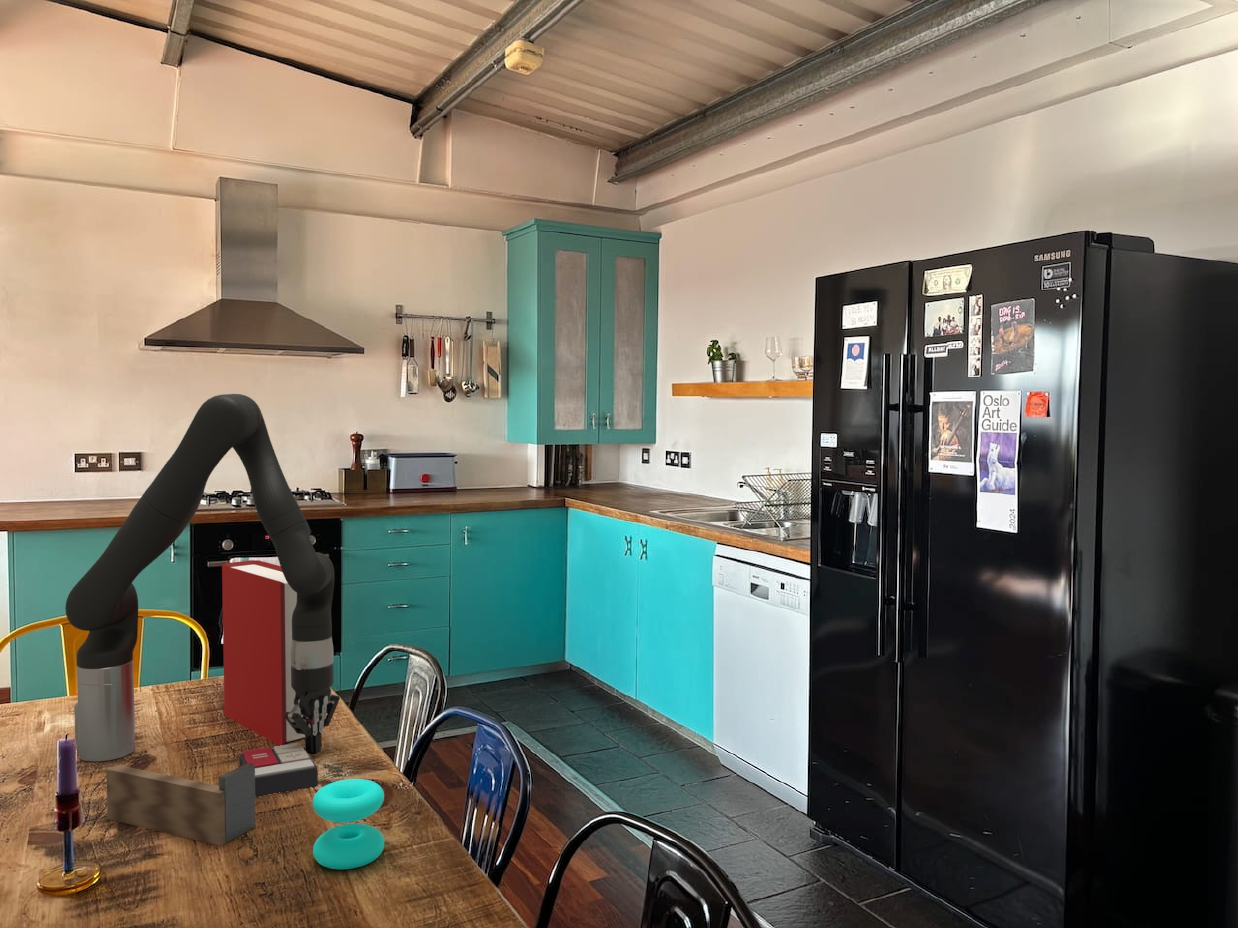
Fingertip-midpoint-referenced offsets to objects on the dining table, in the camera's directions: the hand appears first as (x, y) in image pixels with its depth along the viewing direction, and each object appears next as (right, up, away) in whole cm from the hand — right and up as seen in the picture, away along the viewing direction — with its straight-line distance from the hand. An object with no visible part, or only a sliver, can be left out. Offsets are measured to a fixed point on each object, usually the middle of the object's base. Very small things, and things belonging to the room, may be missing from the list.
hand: (313, 752), depth 175 cm
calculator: (-3, -2, -10) cm, 10 cm away
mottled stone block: (-12, -2, -28) cm, 31 cm away
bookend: (-1, -3, -32) cm, 32 cm away
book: (-14, 0, +17) cm, 22 cm away
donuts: (+18, -3, -38) cm, 42 cm away
